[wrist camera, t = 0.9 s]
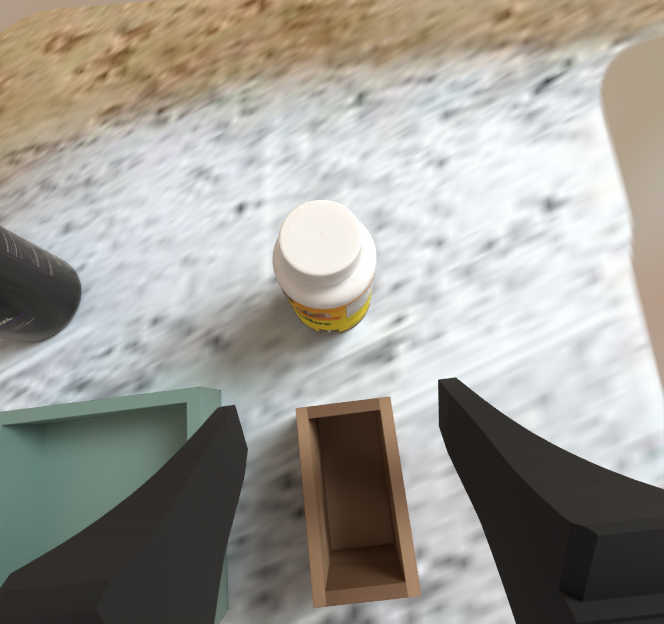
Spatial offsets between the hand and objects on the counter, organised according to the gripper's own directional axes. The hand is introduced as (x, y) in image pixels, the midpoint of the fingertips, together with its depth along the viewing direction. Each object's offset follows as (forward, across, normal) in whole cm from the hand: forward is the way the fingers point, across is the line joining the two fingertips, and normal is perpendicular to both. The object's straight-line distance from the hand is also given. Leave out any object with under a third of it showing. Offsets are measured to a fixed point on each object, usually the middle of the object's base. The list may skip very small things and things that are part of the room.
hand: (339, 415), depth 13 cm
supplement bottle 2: (+15, 0, +2) cm, 15 cm away
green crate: (+7, +15, +11) cm, 20 cm away
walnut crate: (+7, 0, +11) cm, 13 cm away
